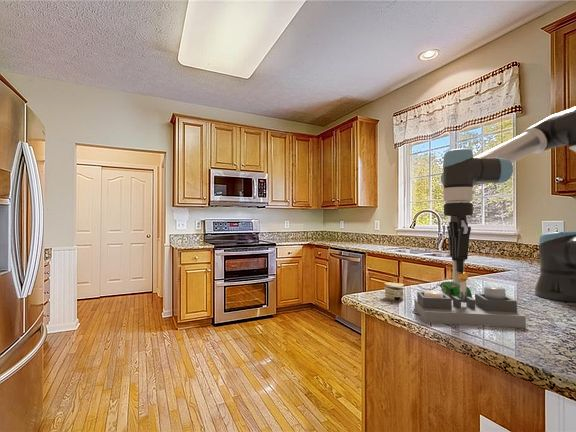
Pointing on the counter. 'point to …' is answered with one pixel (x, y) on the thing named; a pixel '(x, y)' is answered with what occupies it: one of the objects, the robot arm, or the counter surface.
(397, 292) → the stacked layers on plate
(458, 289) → the snack package
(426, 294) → the white button
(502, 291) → the grey blue button
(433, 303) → the control panel
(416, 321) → the counter surface
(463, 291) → the toggle lever
